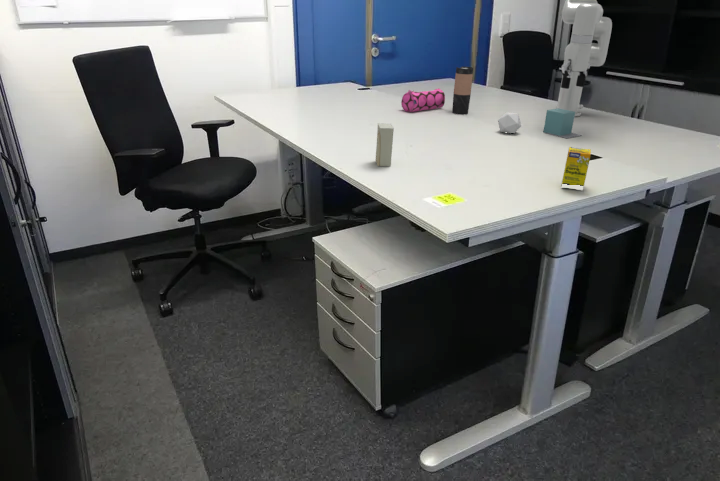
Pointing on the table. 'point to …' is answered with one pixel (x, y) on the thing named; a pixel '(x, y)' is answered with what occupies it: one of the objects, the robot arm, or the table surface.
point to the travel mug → (462, 90)
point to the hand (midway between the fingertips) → (572, 87)
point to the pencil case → (423, 100)
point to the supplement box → (576, 166)
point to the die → (509, 122)
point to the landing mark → (566, 135)
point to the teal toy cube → (559, 121)
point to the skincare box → (384, 144)
